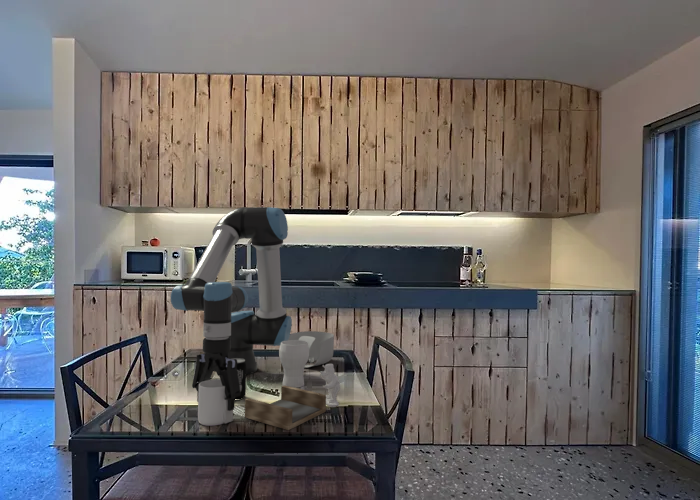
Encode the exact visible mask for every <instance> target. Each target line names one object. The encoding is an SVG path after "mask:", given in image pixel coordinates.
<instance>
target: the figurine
mask: <svg viewBox="0 0 700 500" xmlns="http://www.w3.org/2000/svg"><path fill="white" fill-rule="evenodd" d="M321 365H322V368H324V370H322V371H320V372H319V373H320V377H321V379H323V380H324V381H325V385H323V384H322V387H323V388H324V389H327V390H328V391H327V392H328V394H325V395H326V407H329V408H337V407H336V406H338V407H339V405H340V404H339V401H338V400H337V395H338V394H337V393H338V392H339V391H340V389H341V384H340V381H339V377H338V376H337V374H335V368H334V364H333V363H325V365H324V364H321Z"/></svg>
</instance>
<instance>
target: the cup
mask: <svg viewBox="0 0 700 500" xmlns="http://www.w3.org/2000/svg"><path fill="white" fill-rule="evenodd" d="M278 355H279V356H278V357H279V361H280V364H281V366H282V368H283V380H282V383H281V384H282V385H281V386H284V385H285V386H289V387H294V388H301V387H303V386H305V378H304V371H305V368H306V367H305V365H307V362H309V360H308V357H309V347H308V342H306V341H302V340H287V341H283V342H281V344H280V346H279V349H278Z"/></svg>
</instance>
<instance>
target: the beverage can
mask: <svg viewBox="0 0 700 500" xmlns="http://www.w3.org/2000/svg"><path fill="white" fill-rule="evenodd" d="M234 359H236V360H237V373H238V379H239V385H240V391H241V395H240V396H237V397H235V399H241V398H243V397H244V398H245V397H246V393H247V392H246V387H247V386H246V385H247V374H246V363H245V359H241V358H233V359H231V360H234ZM230 394H231V392H230ZM244 398H243V399H244ZM241 400H242V399H241Z"/></svg>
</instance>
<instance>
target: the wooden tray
mask: <svg viewBox="0 0 700 500" xmlns="http://www.w3.org/2000/svg"><path fill="white" fill-rule="evenodd" d="M280 390H281V391H280V393H281V394H280V399H278V400H276V401H274V402H271V403H270V402H265V401H262V400H257V399H253V398H250V397H248V398H246V399H244V418H246V419H249V420H253V421H256V422H260V423H262V424H266V425H269V426H273V427H275V428H279V429H283V430H286V431H290V430H291V429H294V428H296V427H298V426H299V425H302V424H304V423H306V422H308V421H310V420H312V419H315V418H317V417H318V416H320V415H322V414H324V413H327V412H326V411H327V410H326V409H327V405H326V395H327V394H323V393H320V392H315V391H311V390H306V389H303V388H299V387H297V388H294V387H289V386H285V385H284V386H283V385H281V389H280Z"/></svg>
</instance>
